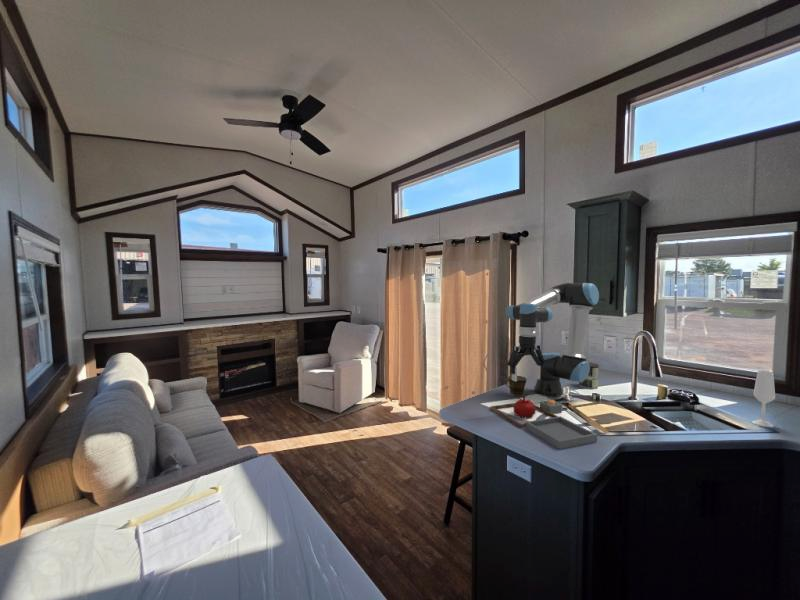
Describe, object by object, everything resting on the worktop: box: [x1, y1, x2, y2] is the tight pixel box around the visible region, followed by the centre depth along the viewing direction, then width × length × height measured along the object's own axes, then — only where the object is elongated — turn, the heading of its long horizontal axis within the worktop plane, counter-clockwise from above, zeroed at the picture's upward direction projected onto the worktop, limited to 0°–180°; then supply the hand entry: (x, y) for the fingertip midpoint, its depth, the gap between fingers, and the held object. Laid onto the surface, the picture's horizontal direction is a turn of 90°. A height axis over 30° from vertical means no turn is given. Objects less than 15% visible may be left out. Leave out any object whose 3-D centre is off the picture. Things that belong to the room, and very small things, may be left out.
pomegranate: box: [513, 395, 537, 419], centre depth 158 cm, size 10×10×9 cm
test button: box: [546, 398, 556, 405], centre depth 164 cm, size 4×4×4 cm
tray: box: [525, 416, 598, 450], centre depth 138 cm, size 19×19×3 cm
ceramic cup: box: [504, 375, 527, 398], centre depth 186 cm, size 13×10×10 cm
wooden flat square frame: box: [489, 402, 559, 429], centre depth 159 cm, size 23×23×2 cm
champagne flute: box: [751, 369, 776, 428], centre depth 149 cm, size 7×7×24 cm
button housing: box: [539, 400, 563, 415], centre depth 164 cm, size 7×7×4 cm
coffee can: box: [578, 361, 600, 390], centre depth 203 cm, size 10×10×14 cm
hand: (525, 379), depth 158 cm, fingers open, 13 cm apart
